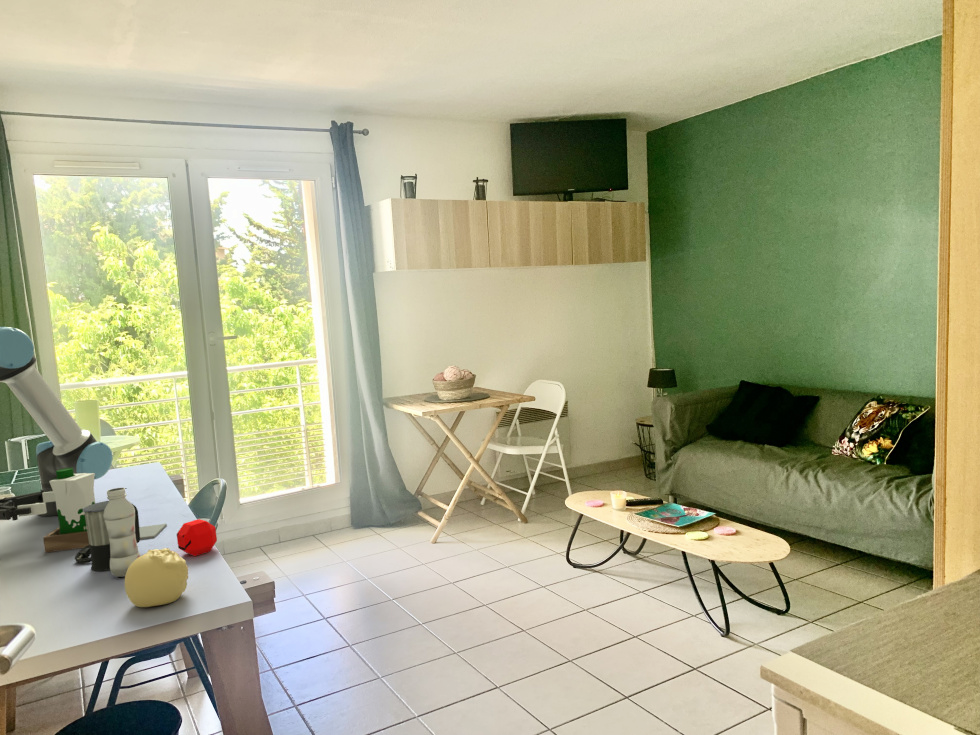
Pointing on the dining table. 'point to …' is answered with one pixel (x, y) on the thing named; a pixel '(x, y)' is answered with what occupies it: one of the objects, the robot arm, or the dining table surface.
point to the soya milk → (72, 499)
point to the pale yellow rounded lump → (156, 578)
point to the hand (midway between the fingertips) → (57, 501)
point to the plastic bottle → (120, 531)
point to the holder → (65, 541)
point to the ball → (196, 537)
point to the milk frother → (99, 537)
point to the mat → (151, 531)
